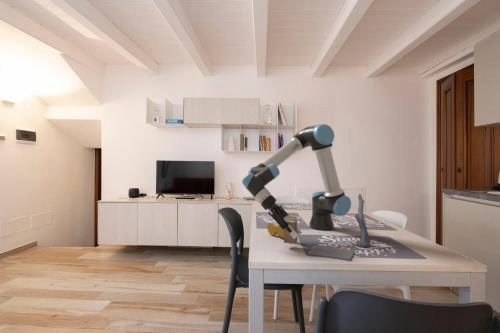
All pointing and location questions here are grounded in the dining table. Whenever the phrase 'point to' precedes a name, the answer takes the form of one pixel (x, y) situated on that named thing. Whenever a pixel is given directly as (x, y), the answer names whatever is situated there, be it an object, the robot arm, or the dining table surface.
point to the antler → (362, 225)
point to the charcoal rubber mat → (331, 252)
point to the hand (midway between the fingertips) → (298, 235)
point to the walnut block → (293, 223)
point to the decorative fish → (275, 230)
